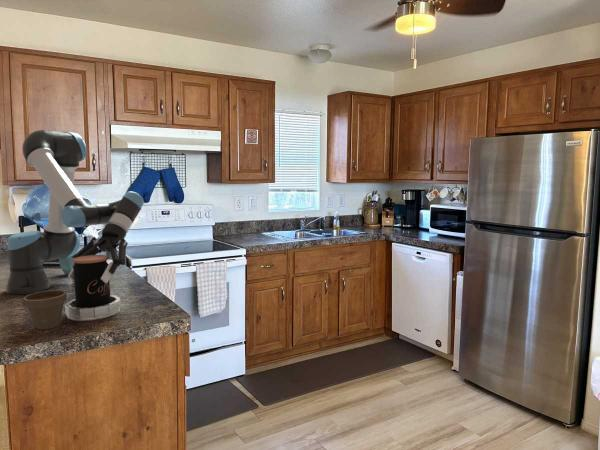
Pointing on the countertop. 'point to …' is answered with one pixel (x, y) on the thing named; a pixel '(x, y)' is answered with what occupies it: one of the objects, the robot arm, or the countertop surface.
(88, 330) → the countertop surface
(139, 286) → the countertop surface
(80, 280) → the coffee jar
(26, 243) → the robot arm
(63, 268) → the flower pot
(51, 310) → the flower pot
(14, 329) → the countertop surface
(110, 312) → the cup bracket
